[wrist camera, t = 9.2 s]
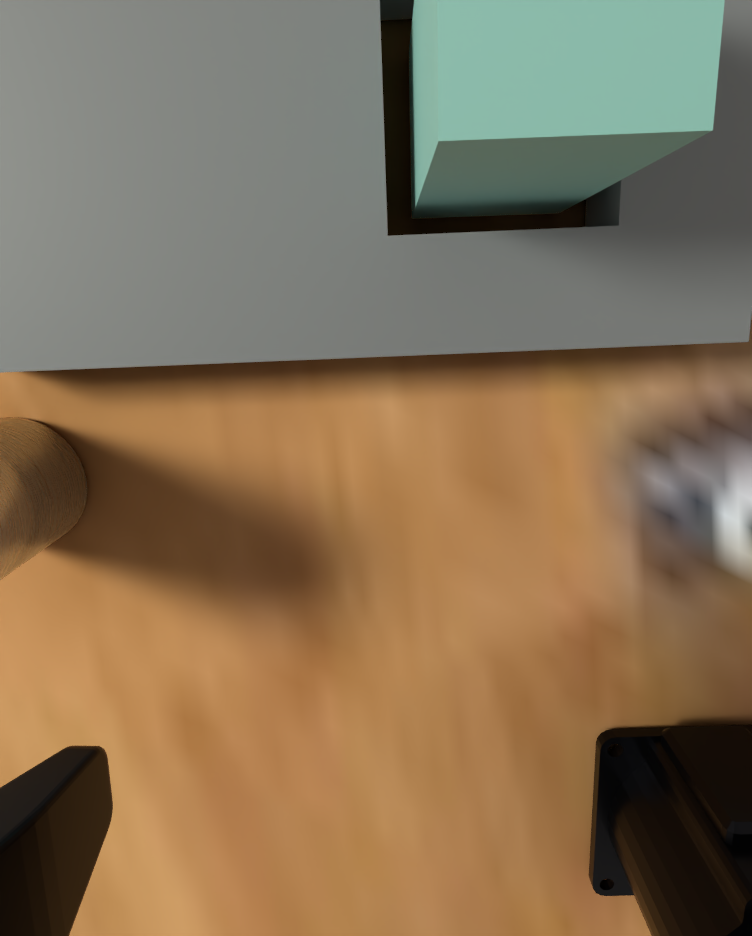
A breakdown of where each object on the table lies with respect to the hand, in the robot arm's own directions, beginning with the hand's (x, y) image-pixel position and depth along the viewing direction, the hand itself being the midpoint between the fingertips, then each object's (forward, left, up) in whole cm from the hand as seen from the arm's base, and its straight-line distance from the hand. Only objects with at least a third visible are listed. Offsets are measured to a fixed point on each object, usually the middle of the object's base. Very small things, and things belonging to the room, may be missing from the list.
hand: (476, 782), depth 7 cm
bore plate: (+10, +2, -12) cm, 15 cm away
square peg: (+10, -2, -12) cm, 15 cm away
